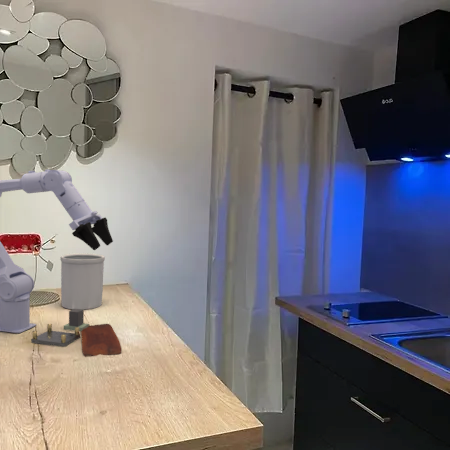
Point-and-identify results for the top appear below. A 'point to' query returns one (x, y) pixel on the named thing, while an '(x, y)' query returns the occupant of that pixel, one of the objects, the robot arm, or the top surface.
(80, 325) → the green grey stepped block
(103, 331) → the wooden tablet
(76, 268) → the utensil holder
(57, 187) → the robot arm
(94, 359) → the top surface
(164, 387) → the top surface
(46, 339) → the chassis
